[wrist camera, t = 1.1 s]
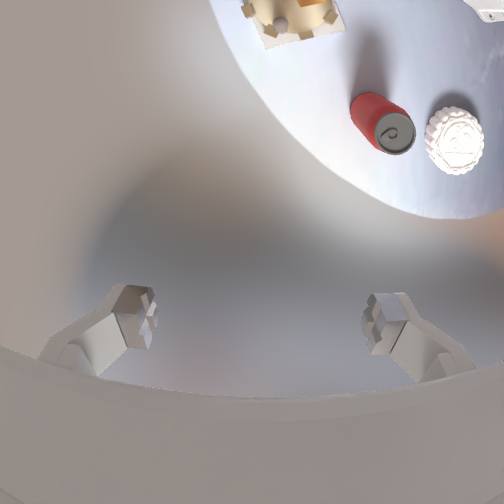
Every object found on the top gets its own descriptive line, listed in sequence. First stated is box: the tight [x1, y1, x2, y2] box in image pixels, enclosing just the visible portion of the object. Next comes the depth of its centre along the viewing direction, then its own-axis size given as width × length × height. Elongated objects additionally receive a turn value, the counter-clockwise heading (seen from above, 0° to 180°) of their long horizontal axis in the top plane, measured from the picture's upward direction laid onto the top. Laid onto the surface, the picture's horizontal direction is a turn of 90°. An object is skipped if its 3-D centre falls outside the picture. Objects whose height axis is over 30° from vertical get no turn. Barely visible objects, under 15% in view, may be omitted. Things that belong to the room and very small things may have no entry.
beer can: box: [350, 93, 416, 155], centre depth 32 cm, size 7×7×12 cm
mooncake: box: [424, 106, 484, 175], centre depth 35 cm, size 12×12×4 cm
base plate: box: [243, 0, 346, 50], centre depth 27 cm, size 12×13×1 cm
